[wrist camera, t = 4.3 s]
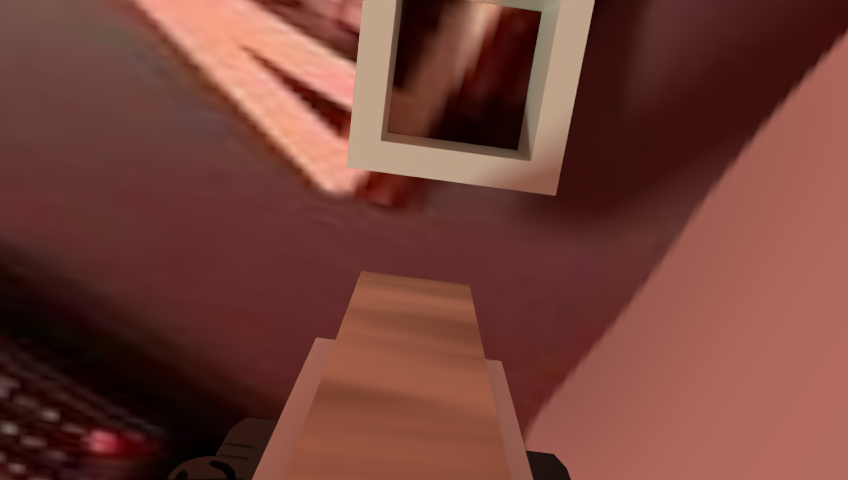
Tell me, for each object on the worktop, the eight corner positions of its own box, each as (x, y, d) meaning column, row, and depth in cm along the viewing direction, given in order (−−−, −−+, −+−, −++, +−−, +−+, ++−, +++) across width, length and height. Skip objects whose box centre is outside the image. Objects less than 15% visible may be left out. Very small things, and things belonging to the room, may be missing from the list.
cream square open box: (538, 180, 28) (555, 195, 25) (358, 155, 28) (346, 167, 24) (575, -16, 26) (601, -32, 22) (378, -44, 26) (369, -66, 22)
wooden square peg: (453, 382, 22) (526, 1219, 6) (350, 369, 22) (121, 1184, 6) (469, 285, 21) (612, 957, 5) (361, 271, 21) (122, 909, 5)
